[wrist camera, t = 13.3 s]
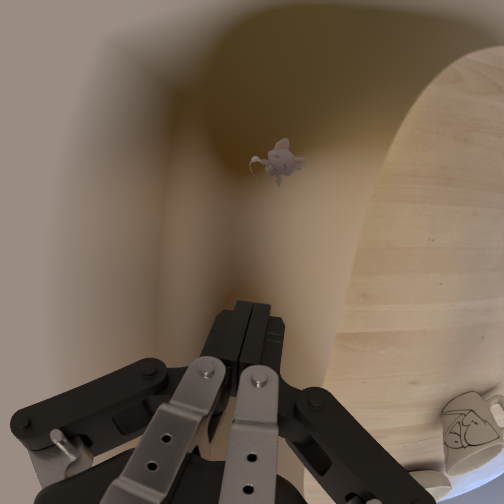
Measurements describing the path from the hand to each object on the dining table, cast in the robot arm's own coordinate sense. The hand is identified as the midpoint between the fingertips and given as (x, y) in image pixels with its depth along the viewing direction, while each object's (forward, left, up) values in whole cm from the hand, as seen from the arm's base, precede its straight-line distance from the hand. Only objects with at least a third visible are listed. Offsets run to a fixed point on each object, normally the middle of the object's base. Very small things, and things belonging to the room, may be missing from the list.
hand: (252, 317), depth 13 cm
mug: (+37, -2, -12) cm, 39 cm away
